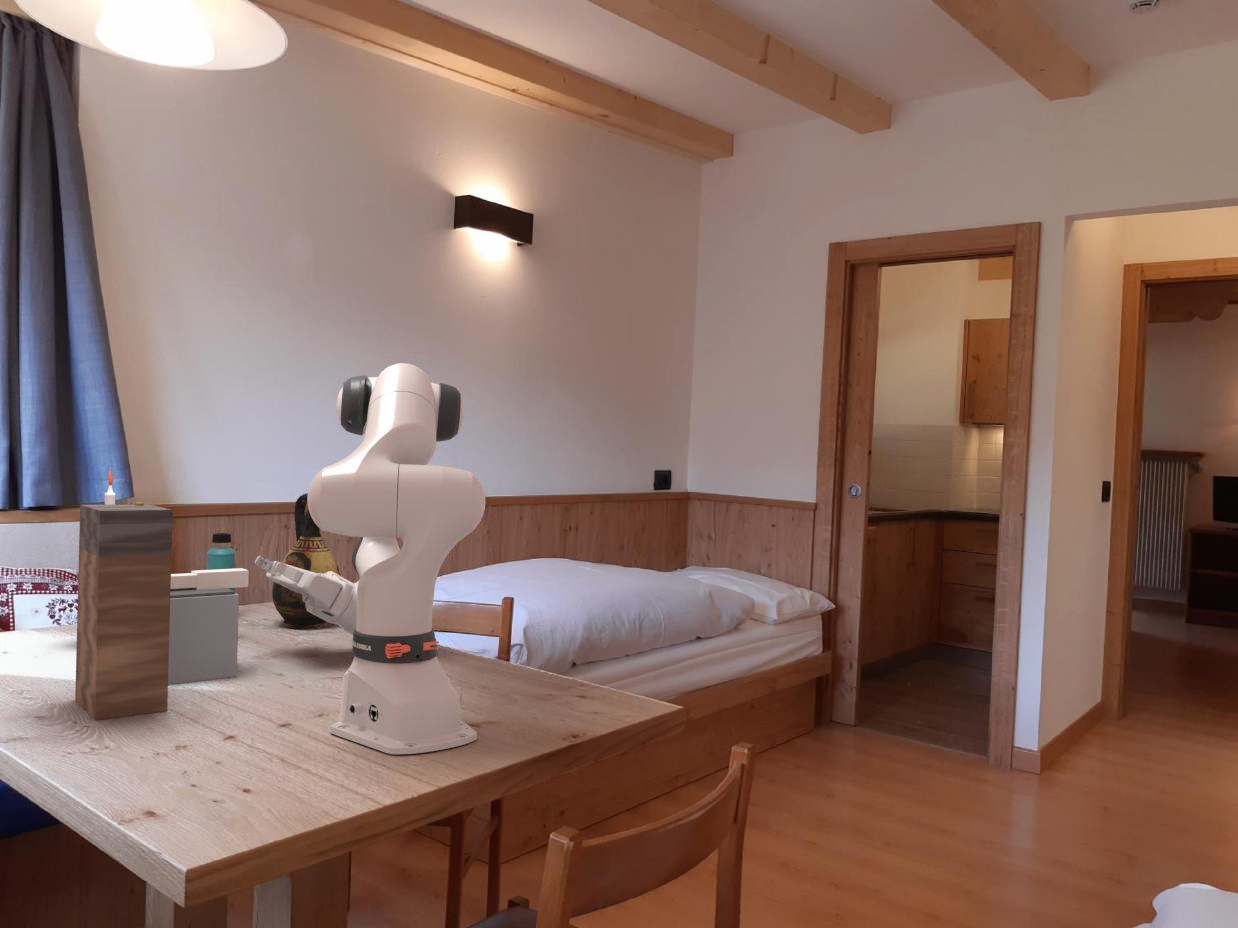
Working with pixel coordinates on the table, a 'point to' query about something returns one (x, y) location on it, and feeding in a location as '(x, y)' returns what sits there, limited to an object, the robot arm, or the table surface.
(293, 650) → the table surface
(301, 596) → the ceramic jug
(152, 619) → the stand
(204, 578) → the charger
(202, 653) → the shelf
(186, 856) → the table surface
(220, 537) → the beverage bottle
